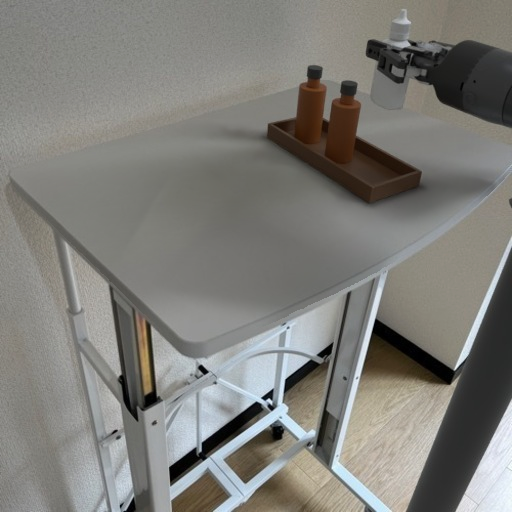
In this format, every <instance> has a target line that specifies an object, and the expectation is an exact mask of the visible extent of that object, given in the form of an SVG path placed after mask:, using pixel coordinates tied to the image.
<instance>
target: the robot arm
mask: <svg viewBox="0 0 512 512" xmlns="http://www.w3.org/2000/svg"><path fill="white" fill-rule="evenodd" d="M407 41H408V42H409V43H410V45H411V46H407V47H404V48H400V47H396V46H394V45H389V44H387V43H384V42H382V40H378V39H375V38H374V39H373V38H371V39H368V40H367V42H366V48H365V56H366V58H368V59H371V60H374V61H375V62H376V61H378V65H377V70H378V71H380V72H381V73H382V74H384V75H385V76H387V77H388V78H389V79H391V80H392V81H393V82H395V83H397V84H400V83H404V79H405V77H407V78H409V79H411V80H415V81H417V83H419V84H422V85H425V86H432V87H433V89H434V93H435V96H436V98H437V100H438V101H439V103H441V104H442V105H444V106H448V107H449V108H452V109H455V110H457V111H460V112H462V113H465V114H467V115H470V116H472V117H473V118H477V119H479V120H481V121H484V122H487V123H490V124H494V125H498V126H502V127H505V128H509V129H511V130H512V51H511V50H508V49H507V50H506V49H503V48H500V47H497V46H493V45H490V44H487V43H483V42H480V41H476V40H473V39H465V40H462V41H460V42H458V43H457V44H450V43H445V42H440V41H436V40H429V41H428V42H425V41H423V40H416V41H414V40H411V39H409V38H408V39H407ZM396 53H397V54H400V55H401V56H399V55H397V54H396ZM412 53H413V56H412V58H411V54H412ZM410 59H411V62H410ZM409 64H410V65H409Z"/></svg>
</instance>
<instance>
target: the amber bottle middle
mask: <svg viewBox="0 0 512 512" xmlns="http://www.w3.org/2000/svg"><path fill="white" fill-rule="evenodd" d="M358 86H359V85H358V82H356V81H355V80H349V79H347V80H342V81H341V83H340V89H339V93H340V97H337V98H334V99H332V100H331V106H330V112H329V113H330V114H329V119H328V121H329V127H328V134H327V141H326V148H325V156H326V157H327V158H329V159H330V160H332V161H334V162H335V163H348V162H350V161H351V160H352V156H353V150H354V144H355V138H356V136H357V134H358V133H357V132H358V126H359V121H360V114H361V108H362V103H361V102H360V101H359V100H357V99H355V96H356V95H357V91H358Z"/></svg>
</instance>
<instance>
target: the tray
mask: <svg viewBox="0 0 512 512" xmlns="http://www.w3.org/2000/svg"><path fill="white" fill-rule="evenodd" d="M295 124H296V116H295V117H291V118H286V119H281V120H278V121H273V122H268V123H267V128H266V129H267V131H266V138H267V139H269V140H270V141H272V142H273V143H275V144H276V145H278V146H280V147H281V148H283V150H286V151H288V152H289V153H291V154H293V155H294V156H295V157H297V158H299V160H301V161H303V162H304V163H306V164H308V165H309V166H310V167H312V168H314V169H316V170H317V171H319V173H322V174H323V175H325V176H326V177H328V178H329V179H331V180H333V181H334V182H335V183H338V184H339V185H340V186H342V187H343V188H345V189H346V190H348V191H350V192H351V193H352V194H354V195H356V196H358V197H359V198H361V199H362V200H364V201H365V202H367V203H368V204H371V203H374V202H377V201H379V200H383V199H386V198H389V197H391V196H395V195H397V194H400V193H403V192H406V191H408V190H412V189H415V188H418V187H419V186H420V183H421V182H420V181H421V178H422V175H423V171H422V170H421V169H419V168H417V167H415V166H413V165H412V164H409V163H408V162H406V161H404V160H402V159H401V158H398V157H397V156H395V155H393V154H391V153H390V152H387V151H386V150H383V149H382V148H380V147H378V146H376V145H375V144H372V143H371V142H369V141H367V140H365V139H364V138H361V137H360V136H359V135H356V138H355V144H354V150H353V156H352V160H351V161H350V162H348V163H335V162H334V161H332V160H330V159H329V158H327V157H326V156H325V148H326V141H327V134H328V127H329V119H326V118H325V117H323V121H322V129H321V137H320V141H319V142H318V143H315V144H304V143H303V142H301V141H299V140H298V139H296V138H294V134H295Z"/></svg>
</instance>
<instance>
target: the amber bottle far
mask: <svg viewBox="0 0 512 512" xmlns="http://www.w3.org/2000/svg"><path fill="white" fill-rule="evenodd" d="M323 70H324V68H323V67H322V66H321V65H318V64H311V65H308V66H307V69H306V78H307V79H306V80H307V81H304V82H301V83H300V84H299V86H298V96H297V104H296V105H297V106H296V115H295V117H296V124H295V134H294V138H296V139H298V140H299V141H301V142H303V143H304V144H315V143H318V142H319V141H320V137H321V129H322V121H323V118H324V114H325V113H324V112H325V104H326V97H327V89H328V88H327V86H326V84H323V83H321V79H322V77H323Z"/></svg>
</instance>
